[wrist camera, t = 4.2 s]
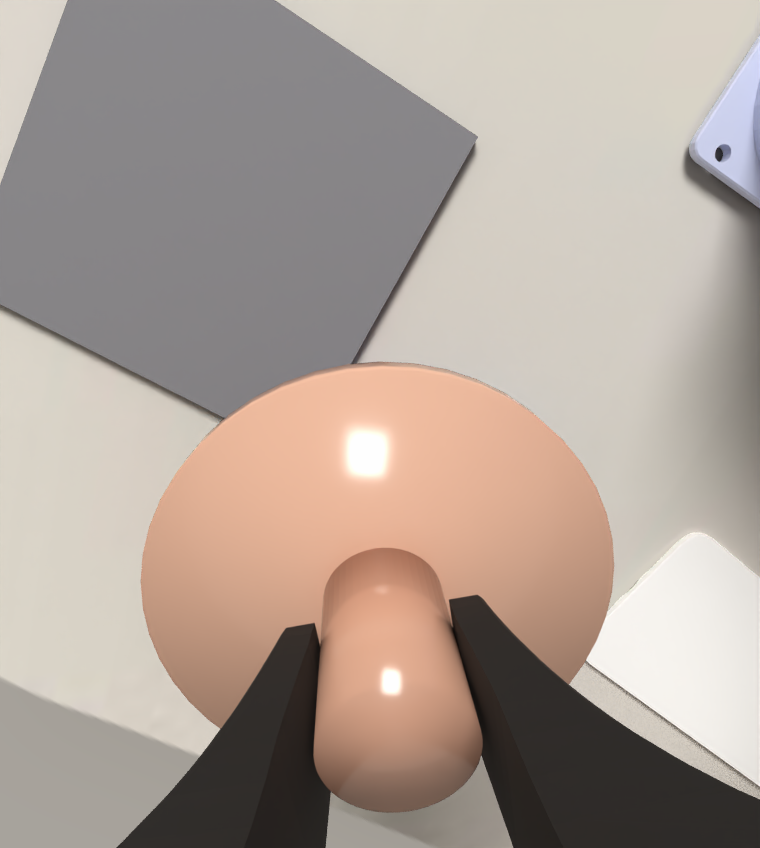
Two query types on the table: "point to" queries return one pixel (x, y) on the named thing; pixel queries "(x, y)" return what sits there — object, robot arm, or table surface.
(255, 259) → the mat
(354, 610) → the lid
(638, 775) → the robot arm
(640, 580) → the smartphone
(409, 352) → the table surface
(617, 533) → the table surface
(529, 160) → the table surface
